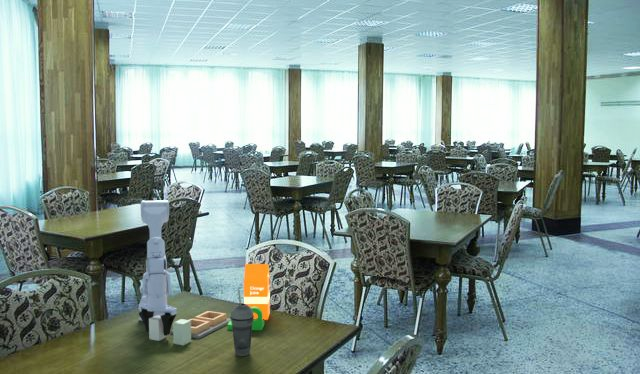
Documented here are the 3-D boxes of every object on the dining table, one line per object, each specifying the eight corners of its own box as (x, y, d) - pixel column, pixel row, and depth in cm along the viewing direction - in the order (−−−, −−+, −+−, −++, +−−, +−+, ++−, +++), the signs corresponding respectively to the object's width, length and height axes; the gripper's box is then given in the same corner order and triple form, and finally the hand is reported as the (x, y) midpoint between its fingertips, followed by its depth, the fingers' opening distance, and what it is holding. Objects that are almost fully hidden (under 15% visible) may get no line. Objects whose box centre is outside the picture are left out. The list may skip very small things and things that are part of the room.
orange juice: (267, 319, 212) (267, 266, 210) (243, 319, 212) (243, 266, 210) (270, 313, 220) (269, 261, 218) (246, 313, 220) (246, 261, 218)
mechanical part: (264, 325, 206) (264, 303, 206) (261, 330, 200) (261, 308, 200) (231, 324, 207) (230, 302, 206) (227, 330, 201) (227, 307, 200)
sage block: (173, 343, 187) (173, 322, 187) (181, 339, 191) (180, 319, 190) (183, 345, 186) (183, 324, 185) (191, 341, 189) (190, 320, 189)
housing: (170, 333, 196) (170, 325, 196) (205, 317, 215) (205, 309, 214) (199, 338, 192) (199, 330, 191) (232, 321, 210) (232, 313, 209)
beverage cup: (244, 359, 174) (243, 294, 172) (225, 354, 178) (224, 290, 176) (259, 351, 180) (258, 289, 178) (240, 347, 184) (240, 285, 182)
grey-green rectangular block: (149, 339, 191) (148, 318, 191) (157, 335, 195) (157, 315, 194) (158, 340, 190) (158, 320, 189) (166, 337, 193) (166, 316, 193)
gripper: (131, 293, 191) (132, 333, 192) (166, 298, 184) (167, 340, 186) (146, 288, 197) (147, 327, 198) (180, 293, 191) (181, 333, 192)
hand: (158, 333), depth 192 cm, fingers open, 7 cm apart
